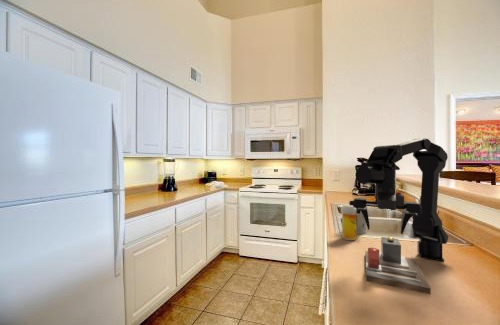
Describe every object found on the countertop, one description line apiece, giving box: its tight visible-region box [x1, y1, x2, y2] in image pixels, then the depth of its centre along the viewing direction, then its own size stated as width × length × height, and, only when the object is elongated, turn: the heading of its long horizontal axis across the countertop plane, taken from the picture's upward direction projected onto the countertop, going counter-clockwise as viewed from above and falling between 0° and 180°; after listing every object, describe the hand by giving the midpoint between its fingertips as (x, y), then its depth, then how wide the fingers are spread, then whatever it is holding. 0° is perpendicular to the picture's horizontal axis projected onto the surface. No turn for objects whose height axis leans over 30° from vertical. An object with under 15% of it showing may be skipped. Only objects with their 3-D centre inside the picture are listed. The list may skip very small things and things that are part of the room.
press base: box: [364, 250, 432, 295], centre depth 72 cm, size 15×21×3 cm
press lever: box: [365, 247, 382, 273], centre depth 68 cm, size 4×4×7 cm
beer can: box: [341, 204, 357, 241], centre depth 103 cm, size 6×6×15 cm
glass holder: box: [348, 200, 368, 235], centre depth 112 cm, size 9×14×15 cm, turn 172°
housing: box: [380, 236, 402, 264], centre depth 76 cm, size 5×7×7 cm
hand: (384, 231), depth 74 cm, fingers open, 9 cm apart
